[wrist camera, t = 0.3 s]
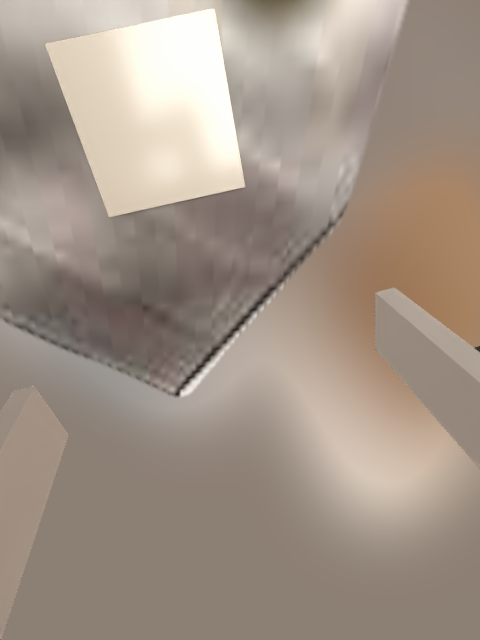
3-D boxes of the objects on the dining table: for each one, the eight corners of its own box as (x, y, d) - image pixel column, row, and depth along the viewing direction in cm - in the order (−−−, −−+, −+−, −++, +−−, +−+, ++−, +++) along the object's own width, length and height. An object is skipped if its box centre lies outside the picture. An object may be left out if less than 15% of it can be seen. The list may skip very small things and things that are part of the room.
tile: (49, 46, 29) (44, 43, 28) (213, 12, 29) (214, 8, 28) (111, 214, 36) (108, 217, 35) (243, 185, 36) (245, 187, 35)
